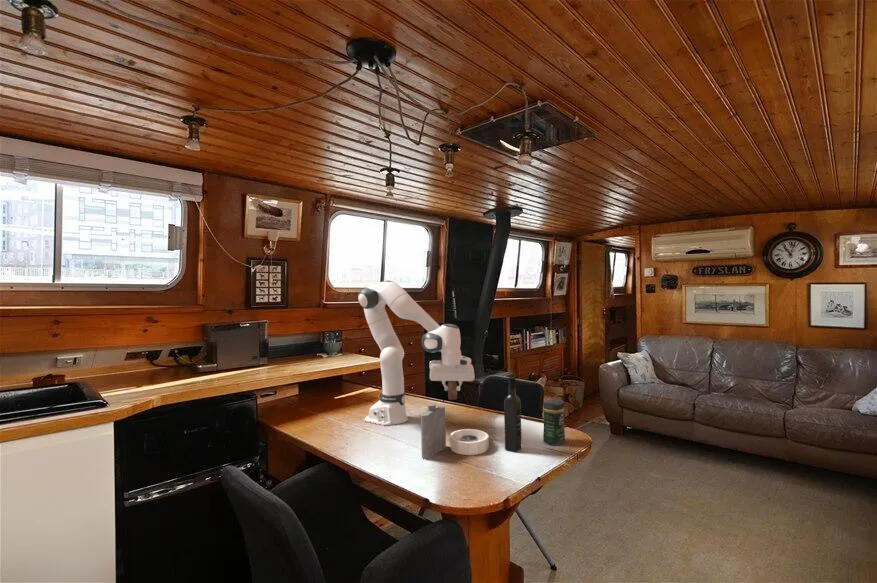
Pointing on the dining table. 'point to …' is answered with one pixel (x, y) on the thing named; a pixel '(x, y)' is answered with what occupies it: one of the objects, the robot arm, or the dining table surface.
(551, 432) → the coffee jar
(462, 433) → the white ring base
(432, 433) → the hip flask
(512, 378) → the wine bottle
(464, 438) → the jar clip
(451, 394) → the walnut peg
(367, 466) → the dining table surface
